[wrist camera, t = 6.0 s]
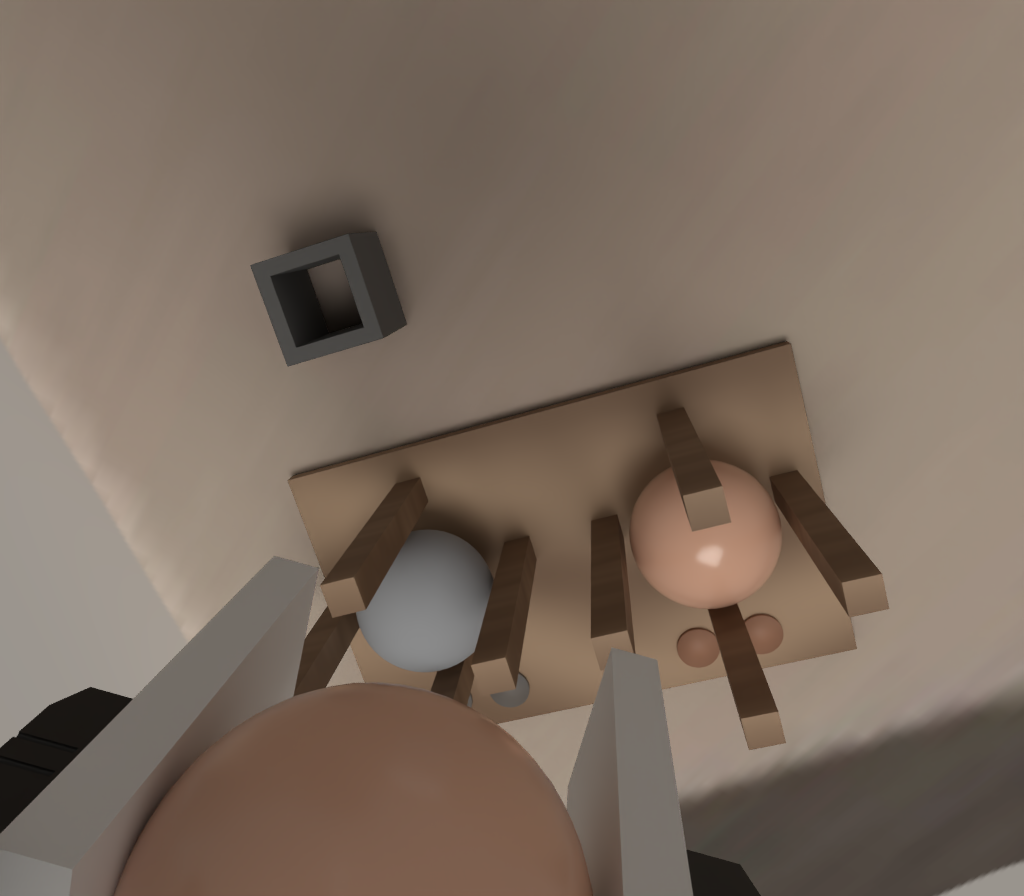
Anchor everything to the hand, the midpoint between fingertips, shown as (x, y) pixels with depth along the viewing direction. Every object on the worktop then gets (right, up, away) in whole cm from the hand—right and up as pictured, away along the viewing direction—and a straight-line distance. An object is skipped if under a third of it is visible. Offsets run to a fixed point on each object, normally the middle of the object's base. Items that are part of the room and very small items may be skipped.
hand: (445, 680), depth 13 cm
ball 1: (-2, -1, +18) cm, 18 cm away
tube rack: (+3, 0, +18) cm, 18 cm away
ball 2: (+8, +2, +16) cm, 18 cm away
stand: (-5, +9, +16) cm, 19 cm away
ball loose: (0, -1, -5) cm, 5 cm away
